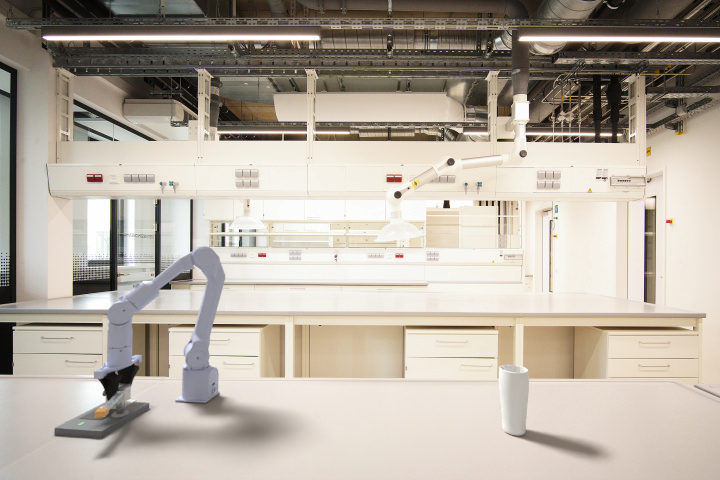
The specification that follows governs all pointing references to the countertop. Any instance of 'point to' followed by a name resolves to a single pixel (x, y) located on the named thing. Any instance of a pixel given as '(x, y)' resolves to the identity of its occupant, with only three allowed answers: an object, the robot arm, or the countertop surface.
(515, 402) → the drinking glass
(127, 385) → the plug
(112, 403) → the orange-tipped grey rod
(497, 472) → the countertop surface
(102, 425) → the grey flat board
